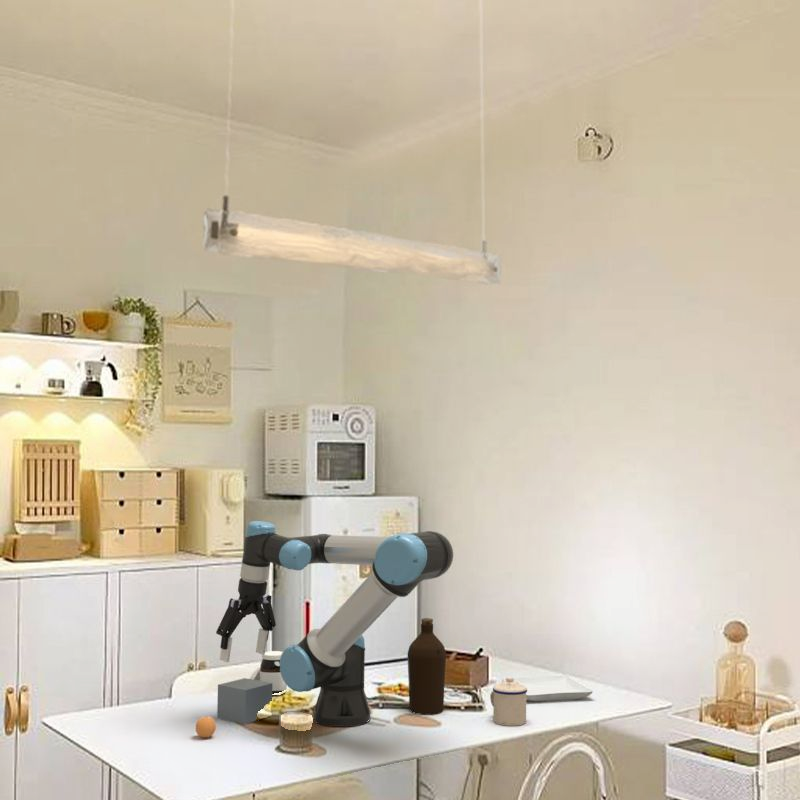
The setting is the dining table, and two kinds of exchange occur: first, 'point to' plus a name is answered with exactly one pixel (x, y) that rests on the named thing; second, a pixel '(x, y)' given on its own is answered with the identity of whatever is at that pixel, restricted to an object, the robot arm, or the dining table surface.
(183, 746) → the dining table surface
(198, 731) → the ball
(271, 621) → the robot arm
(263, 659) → the spread jar
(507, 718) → the teacup with lid
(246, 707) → the grey block
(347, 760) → the dining table surface
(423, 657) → the olive oil
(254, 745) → the dining table surface
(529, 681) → the salad plate
